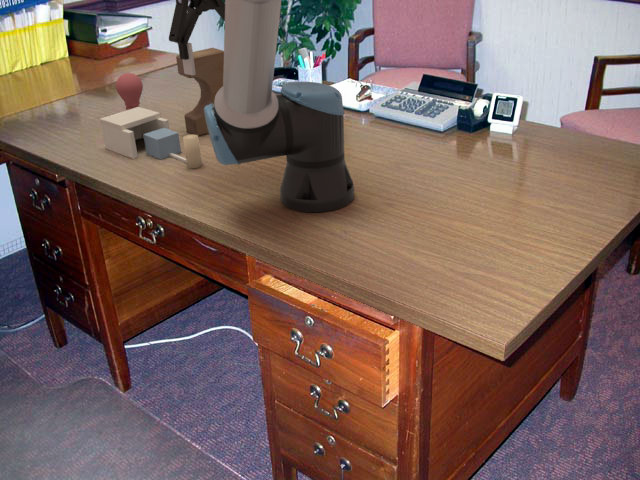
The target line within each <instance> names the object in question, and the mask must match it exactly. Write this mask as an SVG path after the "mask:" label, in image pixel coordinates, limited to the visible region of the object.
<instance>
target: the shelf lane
mask: <svg viewBox="0 0 640 480" xmlns="http://www.w3.org/2000/svg"><path fill="white" fill-rule="evenodd" d="M99 122H100V126H101V133H102V137H103V143H104V148H105V149H106V150H108V151H111V152H114V153H116V154H119V155H122V156H124V157H127V158H130V159H133V160H134V159H138V157H139V156H138V150H137V145H136V141H137V140H140V139H144V136H143V134H146V133H149V132H152V131H155V130H158V129H162V128H167V129H169V130H171V128H170V123H169V119H166V118H163V117H161V113H160V112H158V111H156V110H155V111H154V110H151V109H148V108H144V107H136V108H133V109H130V110H126V109H125V110H122V111H120V112H118V113H114V114H111V115H107V116H104V117H102V118H101V117H100V119H99Z"/></svg>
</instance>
